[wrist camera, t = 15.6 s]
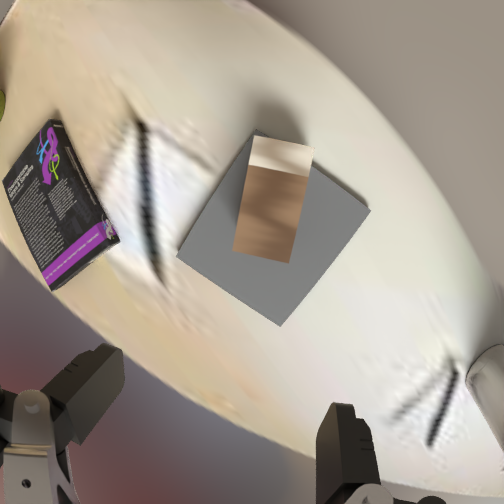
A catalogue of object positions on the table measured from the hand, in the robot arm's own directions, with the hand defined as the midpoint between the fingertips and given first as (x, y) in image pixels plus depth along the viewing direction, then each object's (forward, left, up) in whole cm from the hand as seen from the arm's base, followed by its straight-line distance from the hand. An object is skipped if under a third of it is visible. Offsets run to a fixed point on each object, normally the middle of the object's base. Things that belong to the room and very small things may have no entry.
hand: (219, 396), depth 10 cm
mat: (+1, -1, -23) cm, 23 cm away
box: (+27, +12, -24) cm, 37 cm away
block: (0, 0, -19) cm, 19 cm away
